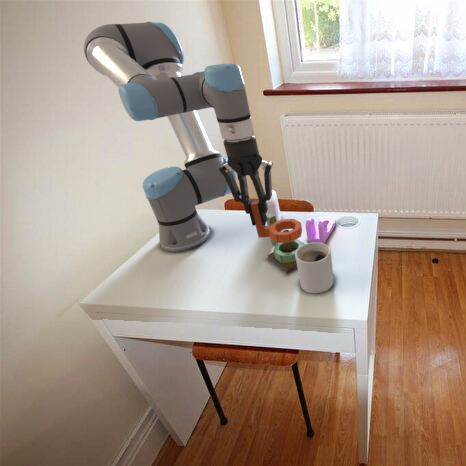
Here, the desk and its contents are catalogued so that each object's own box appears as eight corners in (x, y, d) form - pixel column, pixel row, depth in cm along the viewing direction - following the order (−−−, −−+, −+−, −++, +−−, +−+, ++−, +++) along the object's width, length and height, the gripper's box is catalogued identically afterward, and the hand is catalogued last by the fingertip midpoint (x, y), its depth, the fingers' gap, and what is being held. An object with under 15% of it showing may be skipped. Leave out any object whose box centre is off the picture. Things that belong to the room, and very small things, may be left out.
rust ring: (303, 225, 95) (298, 193, 89) (299, 242, 88) (293, 208, 82) (262, 227, 95) (255, 195, 90) (255, 244, 88) (247, 210, 83)
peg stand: (267, 259, 97) (261, 232, 91) (294, 244, 102) (290, 218, 97) (287, 273, 90) (281, 245, 85) (315, 257, 96) (311, 230, 91)
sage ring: (310, 253, 95) (305, 222, 90) (286, 266, 91) (280, 235, 85) (286, 238, 103) (280, 209, 97) (263, 250, 98) (256, 220, 92)
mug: (320, 298, 82) (315, 267, 76) (291, 285, 86) (285, 255, 81) (344, 273, 89) (341, 243, 84) (316, 263, 94) (312, 234, 88)
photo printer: (281, 232, 109) (274, 199, 102) (268, 233, 109) (260, 200, 102) (282, 217, 118) (276, 185, 111) (270, 218, 117) (263, 187, 110)
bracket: (324, 243, 102) (321, 224, 98) (307, 241, 104) (304, 222, 100) (337, 222, 112) (335, 204, 109) (322, 220, 114) (320, 202, 110)
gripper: (201, 144, 74) (228, 231, 87) (267, 140, 73) (284, 228, 86) (213, 134, 80) (236, 217, 93) (273, 131, 80) (289, 214, 93)
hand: (259, 222), depth 90 cm, fingers closed on rust ring, 2 cm apart
